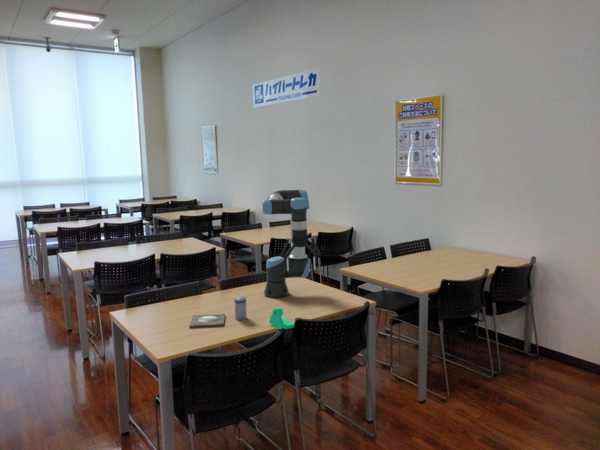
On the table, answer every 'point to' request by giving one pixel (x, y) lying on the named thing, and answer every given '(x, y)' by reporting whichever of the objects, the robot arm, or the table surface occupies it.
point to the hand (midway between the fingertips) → (301, 269)
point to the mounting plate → (207, 321)
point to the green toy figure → (279, 320)
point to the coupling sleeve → (240, 308)
